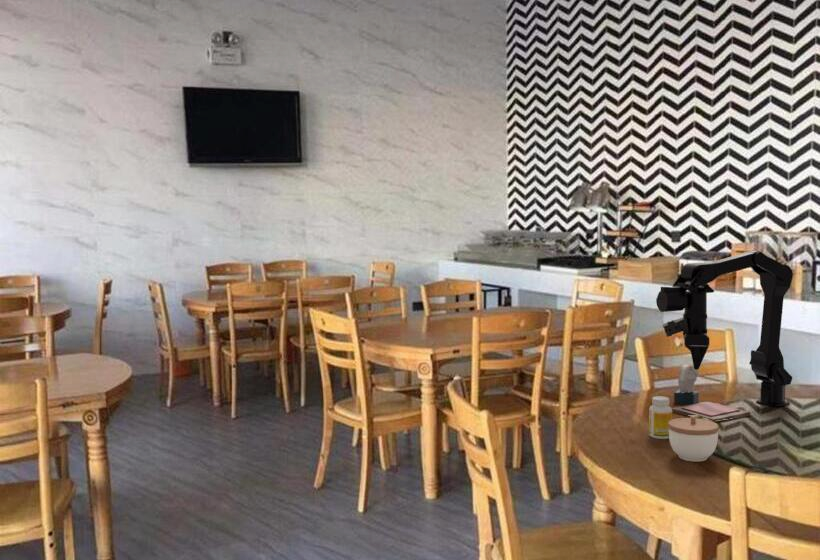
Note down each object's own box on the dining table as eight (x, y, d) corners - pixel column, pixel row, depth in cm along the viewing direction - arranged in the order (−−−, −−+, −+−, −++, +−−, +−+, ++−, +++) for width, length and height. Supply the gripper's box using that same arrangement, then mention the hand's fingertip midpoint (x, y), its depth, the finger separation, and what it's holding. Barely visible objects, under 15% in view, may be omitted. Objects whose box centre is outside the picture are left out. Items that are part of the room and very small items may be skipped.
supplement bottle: (644, 435, 196) (644, 397, 195) (660, 432, 198) (661, 394, 197) (659, 440, 191) (660, 401, 190) (676, 437, 193) (676, 398, 192)
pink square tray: (707, 404, 224) (707, 399, 224) (749, 415, 211) (749, 410, 211) (672, 411, 217) (672, 406, 217) (713, 423, 205) (713, 417, 205)
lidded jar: (691, 467, 171) (692, 425, 170) (657, 454, 180) (657, 414, 180) (729, 460, 175) (729, 419, 174) (693, 447, 185) (694, 408, 184)
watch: (700, 401, 228) (701, 363, 227) (691, 406, 222) (692, 368, 221) (681, 398, 231) (681, 361, 231) (671, 404, 225) (672, 366, 224)
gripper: (664, 305, 227) (664, 358, 228) (664, 314, 209) (665, 372, 210) (705, 305, 223) (705, 359, 225) (709, 314, 206) (709, 373, 207)
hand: (695, 365), depth 217 cm, fingers open, 9 cm apart
